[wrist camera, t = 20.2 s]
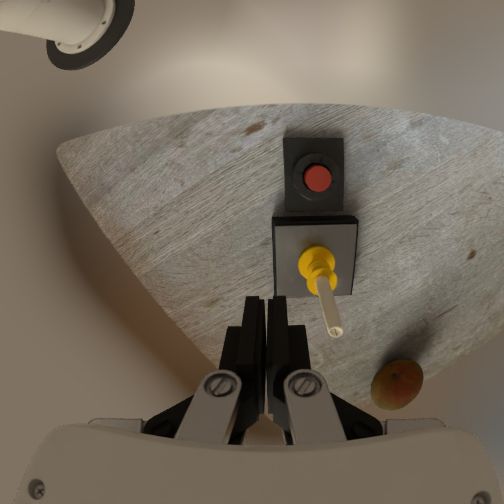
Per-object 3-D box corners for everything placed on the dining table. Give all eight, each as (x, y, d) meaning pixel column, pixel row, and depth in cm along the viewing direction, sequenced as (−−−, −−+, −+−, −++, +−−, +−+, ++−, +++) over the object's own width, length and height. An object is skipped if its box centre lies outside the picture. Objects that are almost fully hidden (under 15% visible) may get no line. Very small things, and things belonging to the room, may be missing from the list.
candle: (304, 283, 41) (317, 361, 26) (293, 252, 39) (303, 323, 25) (338, 272, 40) (366, 346, 25) (329, 240, 38) (359, 306, 24)
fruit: (411, 341, 48) (428, 376, 39) (418, 374, 52) (432, 406, 43) (359, 365, 51) (370, 403, 42) (373, 394, 55) (382, 428, 46)
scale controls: (282, 138, 36) (283, 138, 33) (341, 138, 35) (346, 138, 32) (285, 209, 40) (286, 215, 37) (341, 208, 39) (346, 214, 36)
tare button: (303, 164, 34) (305, 166, 33) (328, 164, 34) (331, 166, 32) (304, 189, 36) (305, 191, 34) (328, 188, 35) (331, 191, 34)
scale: (271, 216, 40) (271, 223, 37) (354, 215, 39) (360, 221, 36) (274, 290, 45) (274, 300, 42) (348, 287, 44) (352, 297, 41)
